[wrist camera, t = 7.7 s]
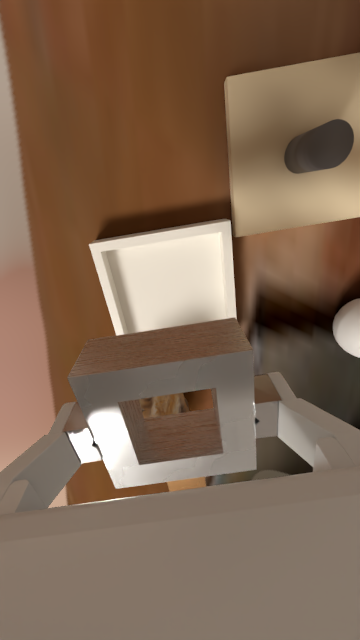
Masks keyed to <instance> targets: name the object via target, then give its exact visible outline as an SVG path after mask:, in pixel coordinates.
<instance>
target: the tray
mask: <svg viewBox="0 0 360 640" xmlns="http://www.w3.org/2000/svg"><path fill="white" fill-rule="evenodd" d="M89 246H90V249H91V253H92V256H93V259H94V263H95V266H96V269H97V273H98V276H99V279H100V283H101V286H102V289H103V292H104V296H105V299H106V302H107V306H108V309H109V312H110V316H111V319H112V322H113V326H114V329H115V332H116V335H123V334H130V333H136V332H143V331H149V330H156V329H162V328H169V327H175V326H182V325H188V324H195V323H201V322H208V321H214V320H221V319H227V318H234V317H235V318H236V320H237V317H236V301H235V285H234V268H233V252H232V236H231V221H230V220H228V219H219V220H213V221H207V222H201V223H195V224H189V225H183V226H177V227H171V228H165V229H159V230H153V231H147V232H141V233H135V234H129V235H123V236H117V237H111V238H105V239H99V240H95V241H93V242H92V243H90V244H89Z"/></svg>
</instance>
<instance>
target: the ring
mask: <svg viewBox="0 0 360 640" xmlns="http://www.w3.org/2000/svg"><path fill="white" fill-rule="evenodd" d="M68 381H69V383H70V385H71V387H72V390H73V392H74V394H75V397H76V399H77V401H78V403H79V406H80V408H81V410H82V412H83V415H84V417H85V419H86V422H87V424H88V426H89V428H90V430H91V433H92V435H93V437H94V440H95V442H96V444H97V446H98V448H99V451H100V453H101V455H102V458H103V460H104V463H105V465H106V467H107V470H108V472H109V474H110V476H111V479H112V481H113V483H114V486H115V488H116V489H118V488H125V487H132V486H140V485H147V484H154V483H162V482H167V484H168V487H169V491H170V492H171V491H179V490H186V489H194V488H201V487H206V479H205V476H213V475H220V474H227V473H235V472H242V471H249V470H257V469H256V436H255V413H254V402H255V399H254V364H253V349H252V347H251V345H250V343H249V342H248V340H247V338H246V336H245V334H244V332H243V331H242V329H241V327H240V325H239V323H238V321H237V320H236V318H235V317H234V318H227V319H221V320H214V321H208V322H201V323H195V324H188V325H182V326H175V327H169V328H162V329H156V330H149V331H143V332H136V333H130V334H123V335H117V336H110V337H104V338H97V339H91V340H88V341H87V343H86V345H85V347H84V348H83V350H82V352H81V354H80V356H79V358H78V359H77V361H76V363H75V365H74V367H73V369H72V370H71V372H70V374H69V376H68ZM204 389H211V391H212V399H213V407H214V408H212V409H205V410H198V411H191V412H184V413H177V414H170V415H163V416H156V417H149V418H144V416H143V413H142V409H141V406H140V402H139V399H143V398H150V397H156V396H163V395H170V394H177V393H184V392H190V391H197V390H204Z"/></svg>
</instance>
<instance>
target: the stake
mask: <svg viewBox="0 0 360 640" xmlns="http://www.w3.org/2000/svg"><path fill="white" fill-rule="evenodd" d="M224 92H225V109H226V126H227V143H228V160H229V177H230V194H231V210H232V227H233V236H235V237H241V236H247V235H253V234H259V233H265V232H271V231H277V230H283V229H289V228H295V227H301V226H307V225H313V224H320V223H326V222H332V221H338V220H344V219H350V218H356V217H360V52H359V53H354V54H348V55H343V56H338V57H332V58H327V59H321V60H316V61H310V62H305V63H300V64H294V65H289V66H283V67H278V68H272V69H267V70H261V71H256V72H251V73H245V74H240V75H234V76H229V77H227V78H226V80H225V82H224Z"/></svg>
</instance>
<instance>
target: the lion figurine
mask: <svg viewBox="0 0 360 640" xmlns="http://www.w3.org/2000/svg"><path fill="white" fill-rule="evenodd" d="M139 402H140V406H141V409H142V413H143V416H144V418H149V417H156V416H163V415H170V414H177V413H184V412H189V406H188V402H187V400H186V399H185V397H184V394H183V393H177V394H170V395H163V396H156V397H150V398H143V399H139Z"/></svg>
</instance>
